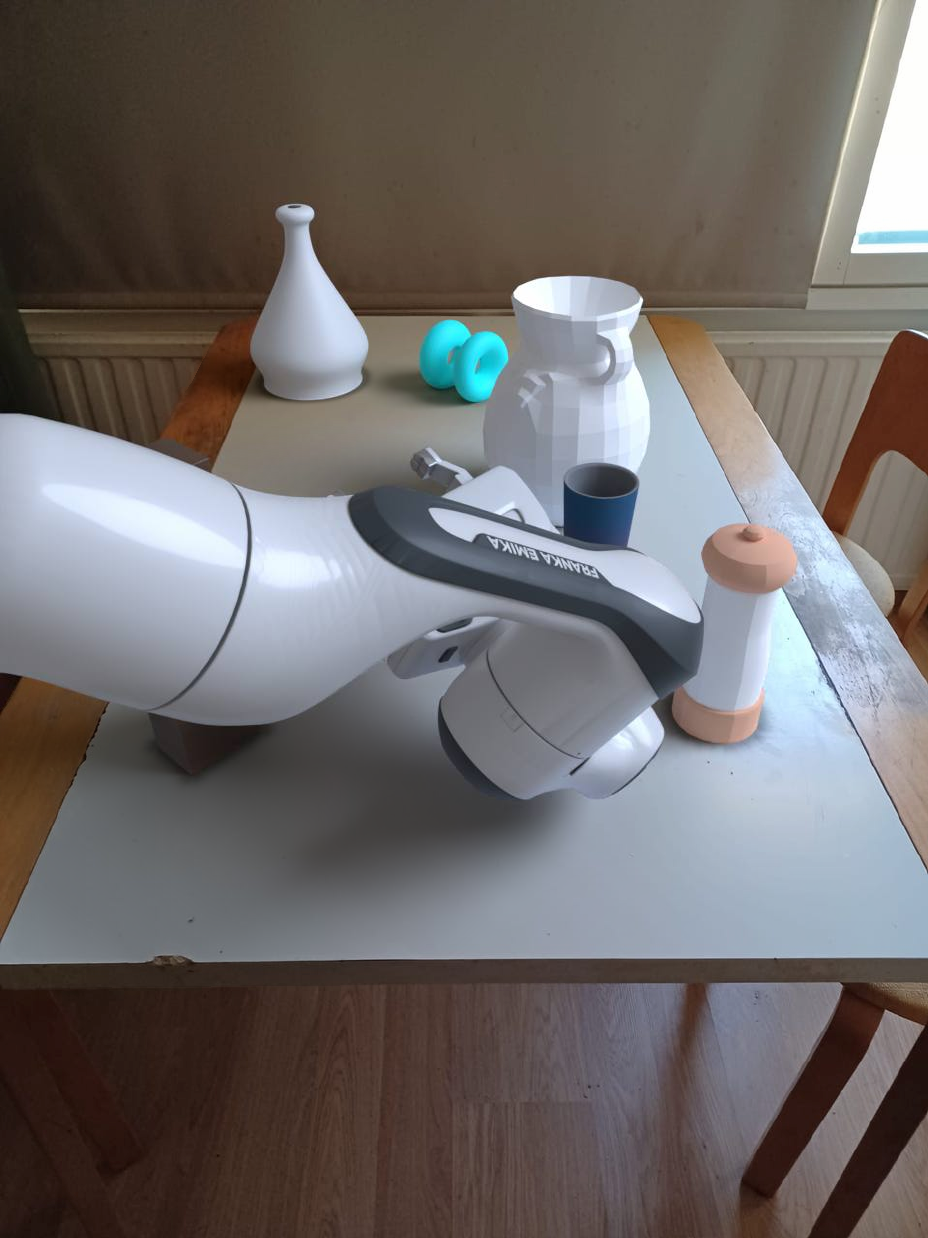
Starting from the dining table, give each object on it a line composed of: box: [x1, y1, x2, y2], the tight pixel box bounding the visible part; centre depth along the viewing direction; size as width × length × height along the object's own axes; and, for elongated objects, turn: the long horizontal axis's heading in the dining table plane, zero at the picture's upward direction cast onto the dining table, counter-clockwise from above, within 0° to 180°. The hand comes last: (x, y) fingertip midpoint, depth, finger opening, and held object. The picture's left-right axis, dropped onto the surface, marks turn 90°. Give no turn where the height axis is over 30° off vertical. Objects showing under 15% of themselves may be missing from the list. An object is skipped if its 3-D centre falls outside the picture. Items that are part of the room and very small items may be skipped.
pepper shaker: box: [671, 522, 798, 745], centre depth 73 cm, size 7×7×19 cm
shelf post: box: [141, 436, 263, 777], centre depth 69 cm, size 7×5×26 cm
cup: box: [563, 462, 640, 547], centre depth 86 cm, size 7×7×15 cm
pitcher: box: [482, 275, 651, 528], centre depth 100 cm, size 19×18×25 cm
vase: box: [249, 203, 369, 401], centre depth 131 cm, size 17×17×25 cm
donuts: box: [418, 319, 509, 403], centre depth 131 cm, size 10×10×10 cm
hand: (375, 475), depth 71 cm, fingers open, 8 cm apart
